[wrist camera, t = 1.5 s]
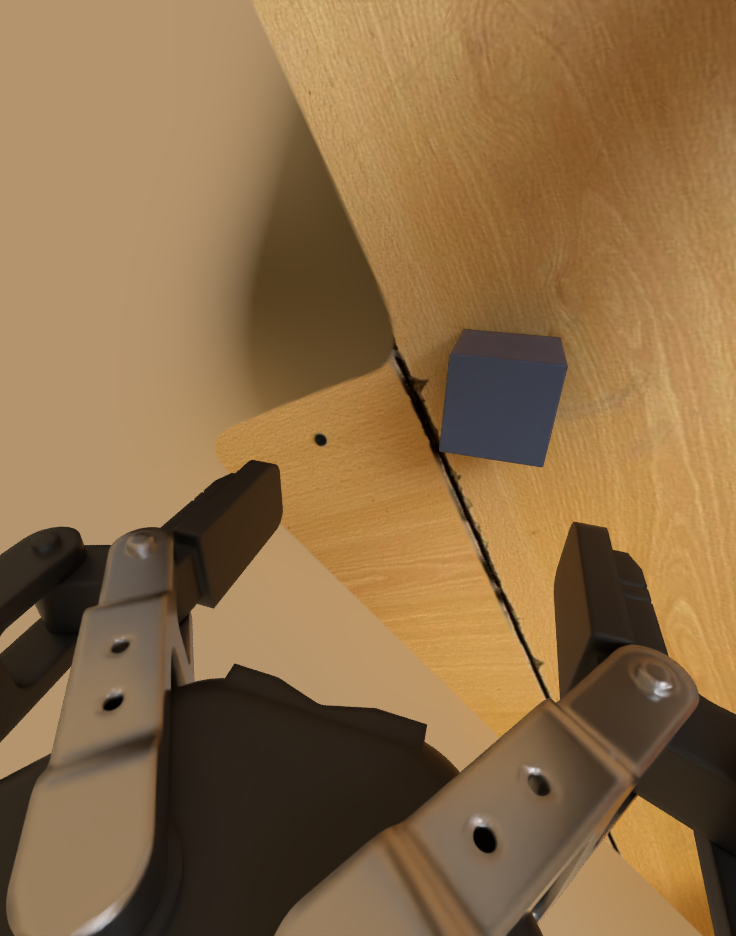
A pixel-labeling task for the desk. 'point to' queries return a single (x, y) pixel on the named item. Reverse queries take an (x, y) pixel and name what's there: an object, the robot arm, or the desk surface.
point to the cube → (502, 396)
